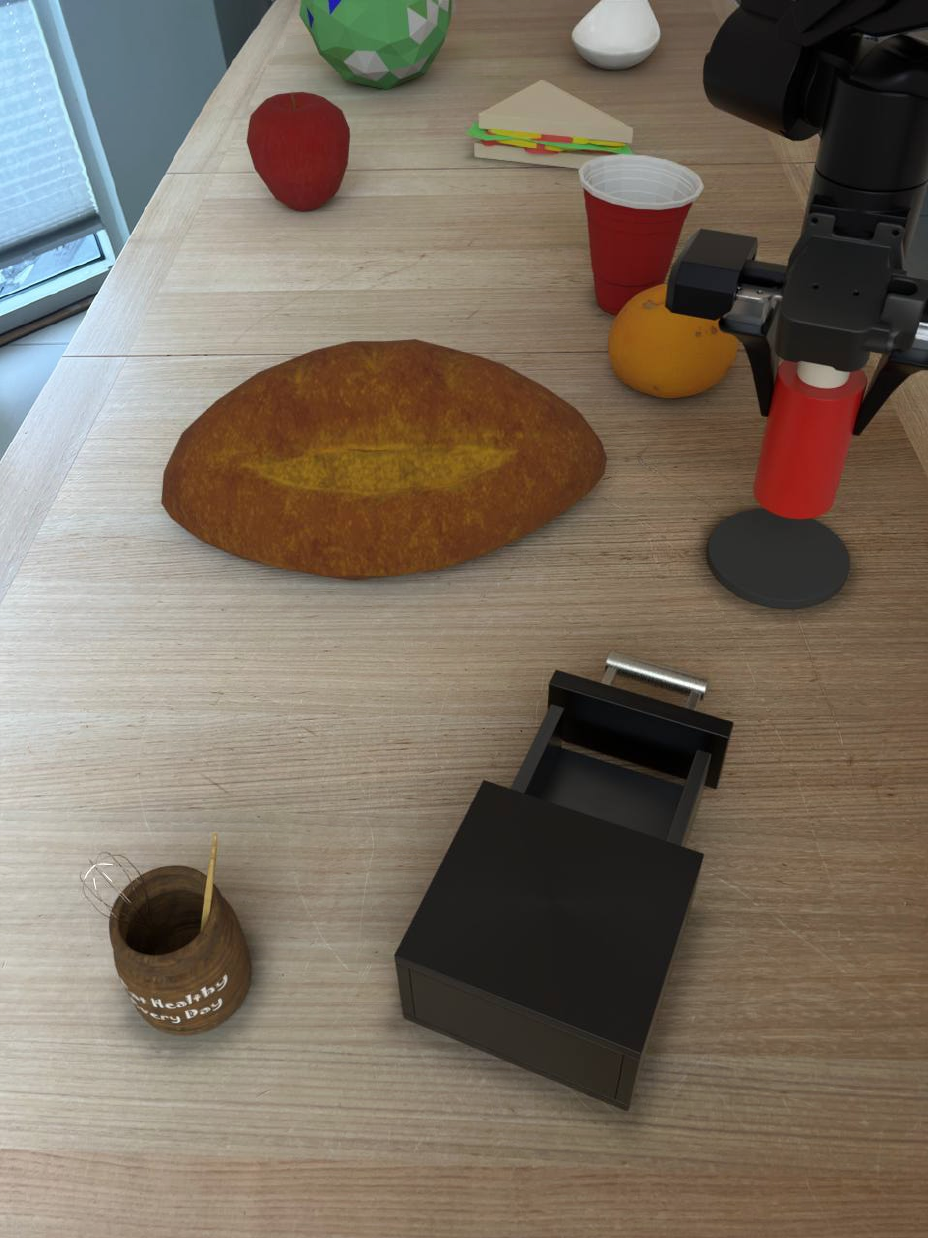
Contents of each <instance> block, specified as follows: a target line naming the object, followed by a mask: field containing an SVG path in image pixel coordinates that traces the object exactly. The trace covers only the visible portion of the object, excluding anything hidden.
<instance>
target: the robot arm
mask: <svg viewBox="0 0 928 1238" xmlns="http://www.w3.org/2000/svg"><path fill="white" fill-rule="evenodd" d="M925 28H928V0H740V4H739V6H738V7H736V9H734V11H733V12H731V14H730V15H728V16H727V18H726V19H725V20H724V22H723V23H722V24H721V26H720V28H719V29H718V31H717V32H716V34H715V36H714V39H713V41H712V43H711V46H710V49H709V51H708V52H707V53H706V54H705V57H704V59H703V60H704V61H703V66H702V85H703V90H704V94H705V96H706V98H707V100H708V102H709V103H710V104H711V105H712V106H713V107H714V108H715V109H717V110H718V111H721V112H724V113H727V114H729V115H731V116H734V117H735V118H737V119H740V120H742V121H745V122H747V123H749V124H752V125H755V126H756V127H759V128H761V129H764V130H766V131H768V132H770V133H773V134H776V135H778V136H781V137H783V138H785V139H787V140H790V141H792V142H803V141H807V140H809V139H811V138H812V137H815V136H816V135H818V134H819V133H820V132H821V135H820V139H819V144H818V149H817V153H816V158H815V162H814V166H813V172H812V176H811V181H810V186H809V191H808V197H807V201H806V206H805V211H804V216H803V221H802V226H801V229H800V230H801V231H800V235H799V237H798V239H797V240H796V243H795V244H794V246H793V247H792V249H791V252H790V254H789V256H788V260H787V265H785V264H779V263H773V262H767V261H761V260H756V259H757V254H758V247H759V241H758V237H757V236H752V235H745V234H738V233H733V232H727V231H719V230H713V229H707V228H699V229H698V230H697V231H695V232H694V234H692V235H690V236H689V238H688V239H687V240H686V242H685V244H684V246H683V248H682V249H681V251H680V252H679V254H678V255H677V258H676V259H675V261H674V262H673V264H672V265H671V267H670V270H669V271H670V272H669V275H668V279H667V283H668V284H667V292H666V301H665V307H666V308H667V309H668V310H669V311H670V312H671V313H675V314H680V315H686V316H691V317H697V318H702V319H708V320H713V321H716V320H718V319H719V318H720V319H719V321H718V326H719V329H720V331H722V332H723V333H727V334H731V335H734V336H735V337H736V338H737V339H738V342H740V343H741V344H742V346H743V347H744V350H745V353H746V356H747V359H748V362H749V365H750V369H751V374H752V378H753V383H754V387H755V393H756V397H757V402H758V407H759V413H760V416H761V417H764V418H768V414H769V409H770V404H771V399H772V394H773V389H774V385H775V380H776V375H777V370H778V367H779V365H780V359H781V360H782V361H784V360H786V361H790V362H795V363H796V362H799V361H803V362H809V363H814V364H819V365H825V366H830V367H833V368H834V369H835V370H837V371H843V372H854V371H858V370H860V369H862V370H863V368H864V367H865V366H866V365H867V364H868V361H869V359H870V355H871V353H875V354H879V355H880V354H881V356H880V358H879V361H878V362H877V365H876V367H875V370H874V372H873V374H872V377H871V379H870V382H869V384H868V385H867V387H866V390H865V394H864V397H863V401H862V404H861V408H860V411H859V413H858V416H857V420H856V423H855V427H854V430H853V436H856V437H860V436H861V434H862V433H863V431H864V430H865V429H866V428H867V427H868V425H869V424H870V422H872V420H873V419H874V417H875V416H876V415H877V414H878V412H879V411H880V409H882V407H883V406H884V404H885V403H886V402H887V401H888V399H890V397H891V396H892V394H894V392H895V391H896V390H897V389H898V388H899V387H900V386H901V385H902V384H903V383H904V382H905V381H906V380H907V379H909V377H911V376H912V375H914V374H917V373H919V372H922V371H928V279H924V278H920V277H919V278H918V277H912V276H907V275H908V270H906V262H907V260H908V256H909V252H910V250H911V245H912V242H913V238H914V235H915V231H916V229H917V224H918V221H919V218H920V214H921V211H922V206H923V204H924V199H925V196H926V193H927V189H928V39H924V38H921V37H918V36H916V35H912V34H909V33H907V32H911V31H917V30H920V29H921V30H922V29H925ZM864 36H868V37H871V38H882V37H887V38H885V39H884V40H881V42H877V41H874V40H871V39H868V38H865V37H864ZM889 36H890V37H889Z"/></svg>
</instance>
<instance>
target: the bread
mask: <svg viewBox="0 0 928 1238" xmlns="http://www.w3.org/2000/svg"><path fill="white" fill-rule="evenodd" d="M606 454H607V453H606V452H605V447H604V445H603V442H602V440H601V439H600V437H599V436H598V434H596V432H595V431H594V429H593V428H592V426H591V425H590V424H589V422H588V421H587V420H586V419H585V417H584V415H583V414H582V413H581V412H580V411H579V410H578V409H577V408H576V407H575V406H573V405H572V404H570V403H569V402H568V401H566V400H565V399H563V398H562V397H561V396H559V395H558V394H556V393H554V392H553V391H551V390H550V389H549V388H547V387H546V386H544V385H543V384H541V383H539V382H537V381H535V380H533V379H532V378H529V377H528V376H526V375H524V374H522V373H520V372H519V371H517V370H515V369H514V368H511V367H509V366H507V365H506V364H504V363H501V362H498V361H496V360H493V359H489V358H487V357H484V356H480V355H477V354H474V353H470V352H466V351H462V350H459V349H455V348H451V347H448V346H444V345H441V344H435V343H433V342H428V341H424V340H420V339H416V338H411V339H398V340H397V339H396V340H350V341H346V342H343V343H338V344H335V345H330V346H325V347H322V348H317V349H314V350H311V351H307V352H306V353H303V354H300V355H298V356H296V357H293V358H290V359H288V360H286V361H283V362H281V363H278V364H276V365H272V366H271V367H268V368H266V369H263V370H260V371H258V372H257V373H255V374H253V375H251V376H250V377H249V378H247V379H246V380H245V381H243V382H242V383H240V384H239V385H237V386H236V387H234V388H233V389H231V390H230V391H228V392H227V393H225V394H224V395H222V396H221V397H219V398H218V399H216V400H215V401H214V402H213V403H212V404H211V405H210V406H209V407H208V408H206V410H205V411H203V412H202V413H201V414H200V415H199V416H198V417H197V418H196V419H195V420H194V421H193V422H192V423H191V424H189V426H187V428H185V429H184V430H183V431H182V432H181V434H180V436H179V438H178V440H177V443H175V447H174V448H173V450H172V453H171V455H170V457H169V459H168V462H167V464H166V466H165V467H164V471H163V477H162V488H161V489H162V490H161V500H160V503H161V505H162V507H163V508H164V510H165V511H166V513H167V514H168V516H169V517H170V518H171V520H173V521H174V522H175V523H177V524H178V525H179V526H180V527H181V528H183V530H185V531H187V532H188V533H190V535H192V536H193V537H195V538H197V539H198V540H200V542H203V543H205V544H208V545H209V546H212V547H214V548H216V549H219V550H221V551H223V552H225V553H228V554H230V555H232V556H234V557H237V558H239V559H242V560H246V561H248V562H249V561H250V562H253V563H257V564H260V565H261V564H262V565H265V566H269V567H272V568H277V569H282V570H287V571H291V572H292V571H293V572H297V573H298V572H299V573H304V574H309V575H314V576H320V577H326V578H330V579H331V578H332V579H339V580H346V581H361V580H363V581H364V580H371V579H381V578H389V577H390V578H391V577H396V576H405V575H411V574H418V573H425V572H431V571H438V570H439V571H440V570H443V569H446V568H449V567H452V566H455V565H458V564H462V563H464V562H467V561H469V560H473V559H476V558H479V557H482V556H484V555H488V554H490V553H493V552H494V551H497V550H498V549H500V548H502V547H505V546H507V545H508V544H511V543H513V542H515V541H517V540H519V539H521V538H523V537H526V536H527V535H530V534H532V533H533V532H534V531H536V530H538V529H539V528H541V527H543V526H544V525H546V524H548V523H549V522H550V521H551V522H552V520H554V519H556V518H557V517H559V516H560V515H562V514H564V513H565V512H567V510H569V509H570V508H572V507H573V506H574V505H576V504H577V503H578V502H579V501H581V499H583V498H584V497H585V496H586V495H588V494H589V493H590V492H592V490H593V489H594V488H595V486H596V485H597V484H598V482H600V480H601V478H603V476H604V475H605V473H606V468H607V462H608V457H607V455H606Z"/></svg>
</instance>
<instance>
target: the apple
mask: <svg viewBox="0 0 928 1238" xmlns="http://www.w3.org/2000/svg"><path fill="white" fill-rule="evenodd" d="M247 127H248V128H247V136H246V145H247V147H248V152H249V154H250V158H251V161H252V164H253V167H254V170H255V172H256V173H257V174H258V176H259V178H260V179H261V180H262V181H263V184H264V185H265V186H266V187H267V189H268V190H269V192H270V193H271V194H272V196H273V197H274V198H275V200H276V201H277V202H279V203H282V204H283V205H285V206H287V207H289V208H290V209H292V210H294V211H295V212H303V213H304V212H311V211H313V210H316V209H318V208H320V207H322V206H323V205H325V204H326V203H327V202H329V201H330V200H331V199H333V198H334V197H335V196H336V195H337V193H339V190H340V188H341V186H342V183H343V180H344V176H345V173H346V171H347V168H348V165H349V155H350V154H349V153H350V143H351V129H350V126H349V124H348V121H347V119H346V116H345V114H344V111H343V110H342V109H341V108H340V107H338V106H337V105H336V104H335V103H333V102H331V101H330V100H328V99H327V98H326V97H325V96H321V95H319V94H316V93H312V92H305V91H292V92H284V93H278V94H275V95H272V96H270V97H267V98H265V99H264V100H263V101H262V102H261V103H260V104H259V105H258V107H256V109H255V110H254V111H253V112H252V114H250V117H249V121H248V126H247Z"/></svg>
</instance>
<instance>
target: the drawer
mask: <svg viewBox="0 0 928 1238" xmlns="http://www.w3.org/2000/svg"><path fill="white" fill-rule="evenodd" d="M603 670H604V672H603V673H604V674H603V676H602V679H601V681H596V680H593V679H590V678H586V677H583V676H579V675H577V674H576V675H575V674H573V673H569V672H565V671H562V670H558V669H555V670H554V672H553V674H552V676H551V678H550V680H549V682H548V690H547V691H548V692H547V711H546V713H545V716H544V718H543V719H542V722H541V724H540V726H539V727H538V730H537V732H536V734H535V736H534V739H533V740H532V742H531V745H530V746H529V748H528V751H527V753H526V755H525V757H524V759H523V761H522V763H521V765H520V767H519V769H518V771H517V774H516V776H515V777H514V780H513V782H512V784H511V786H510V787H509V789H512V790H515V791H518V792H521V793H524V794H527V795H530V796H533V797H536V798H539V799H542V800H545V801H548V802H551V803H554V804H557V805H560V806H563V807H566V808H569V809H572V810H575V811H578V812H581V813H584V814H587V815H590V816H593V817H596V818H599V819H602V820H605V821H608V822H611V823H614V824H617V825H620V826H623V827H626V828H629V829H632V830H635V831H638V832H641V833H644V834H647V835H650V836H653V837H656V838H659V839H661V840H664V841H667V842H670V843H673V844H676V845H679V846H682V847H685V848H687V844H688V841H689V838H690V836H691V832H692V829H693V825H694V823H695V819H696V817H697V814H698V812H699V808H700V805H701V801H702V797H703V793H704V789H705V787H706V788H709V789H714V790H717V789H718V786H719V783H720V780H721V777H722V773H723V769H724V767H725V766H724V765H725V762H726V758H727V753H728V749H729V746H730V740H731V736H732V733H733V729H734V725H735V723H734V721H732V720H728V719H725V718H721V717H718V716H714V715H711V714H708V713H704V712H701V711H697V710H698V706H699V704H700V701H701V702H704V701H705V700H706V697H707V694H708V690H709V687H710V682H711V678H710V677H708V676H704V675H701V674H697V673H695V672H694V673H693V672H690V671H687V670H683V669H681V668H676V667H673V666H669V665H666V664H663V663H659V662H655V661H652V660H648V659H645V658H642V657H638V656H634V655H631V654H627V653H624V652H620V651H617V650H614V649H611V650H609V652H608V654H607V656H606V659H605V662H604V669H603ZM617 677H619V678H622V679H626V680H629V681H634V682H637V683H640V684H642V685H647V686H649V687H653V688H657V689H659V690H660V689H661V690H663V691H667V692H671V693H673V694H677V695H680V696H684V697H687V701H686V703H685V706H680V705H678V704H673V703H670V702H667V701H663V700H660V699H657V698H654V697H651V696H647V695H644V694H640V693H637V692H635V691H634V692H633V691H630V690H626V689H623V688H620V687H617V686H614V683H615V680H616V678H617ZM563 742H564V743H568V744H571V745H574V746H577V747H581V748H584V749H587V750H590V751H592V752H596V753H599V754H603V755H605V756H609V757H611V758H615V759H619V760H622V761H625V762H628V763H632V764H635V765H637V766H640V767H643V768H646V769H650V770H652V771H656V772H659V773H663V774H666V775H669V776H673V777H675V778H679V779H682V780H685V781H684V785H681V784H678V783H675V782H671V781H669V780H665V779H662V778H659V777H656V776H653V775H650V774H646V773H643V772H640V771H637V770H633V769H630V768H628V767H624V766H621V765H619V764H615V763H612V762H609V761H606V760H602V759H600V758H596V757H593V756H590V755H587V754H583V753H580V752H577V751H574V750H571V749H568V748H564V747H563Z"/></svg>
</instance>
